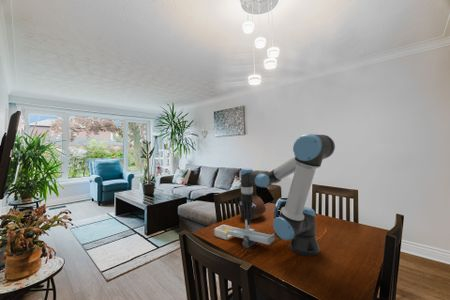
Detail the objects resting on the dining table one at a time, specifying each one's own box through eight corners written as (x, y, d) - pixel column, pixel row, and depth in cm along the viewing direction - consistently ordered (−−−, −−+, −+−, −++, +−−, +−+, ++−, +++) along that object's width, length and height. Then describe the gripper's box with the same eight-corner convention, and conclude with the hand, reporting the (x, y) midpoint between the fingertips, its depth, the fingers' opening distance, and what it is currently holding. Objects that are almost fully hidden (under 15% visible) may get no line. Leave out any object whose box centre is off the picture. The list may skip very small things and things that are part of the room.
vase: (253, 212, 178) (252, 178, 178) (272, 217, 163) (271, 180, 163) (233, 219, 162) (232, 182, 162) (252, 226, 147) (251, 185, 147)
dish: (236, 234, 133) (235, 228, 133) (226, 240, 126) (226, 232, 126) (223, 230, 140) (223, 224, 140) (214, 235, 133) (213, 228, 133)
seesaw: (279, 236, 118) (279, 230, 118) (268, 244, 108) (268, 238, 108) (240, 228, 136) (240, 223, 136) (228, 234, 126) (228, 229, 127)
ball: (225, 231, 135) (228, 235, 133) (221, 233, 133) (225, 237, 131) (227, 227, 134) (231, 231, 132) (223, 229, 131) (227, 233, 129)
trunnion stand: (258, 241, 123) (258, 231, 123) (248, 248, 114) (247, 238, 114) (253, 239, 126) (252, 229, 126) (242, 246, 117) (242, 236, 117)
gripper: (258, 193, 127) (259, 230, 128) (242, 190, 136) (242, 225, 136) (252, 195, 122) (252, 234, 122) (235, 192, 130) (235, 228, 131)
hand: (247, 229), depth 129 cm, fingers closed
